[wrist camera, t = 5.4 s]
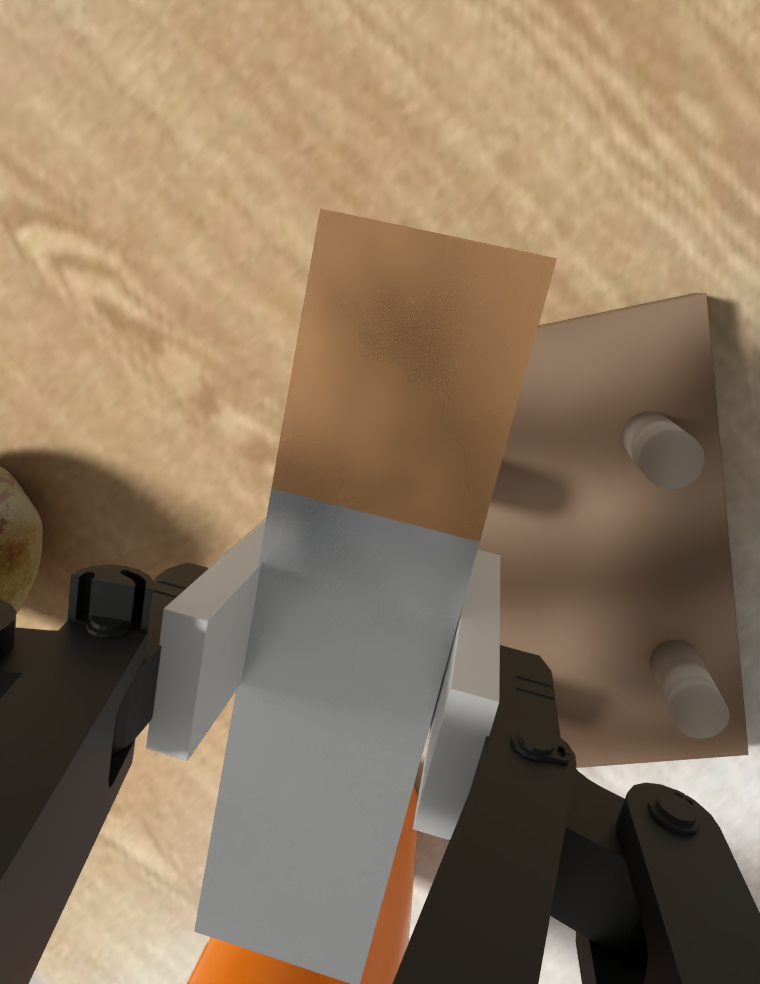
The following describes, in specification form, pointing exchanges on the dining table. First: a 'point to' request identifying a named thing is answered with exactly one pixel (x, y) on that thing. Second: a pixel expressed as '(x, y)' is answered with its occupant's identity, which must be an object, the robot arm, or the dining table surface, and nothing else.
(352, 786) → the bar
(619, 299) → the dining table surface
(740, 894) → the robot arm
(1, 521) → the fruit
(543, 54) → the dining table surface
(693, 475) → the peg rack
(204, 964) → the shaker bottle
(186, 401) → the dining table surface
